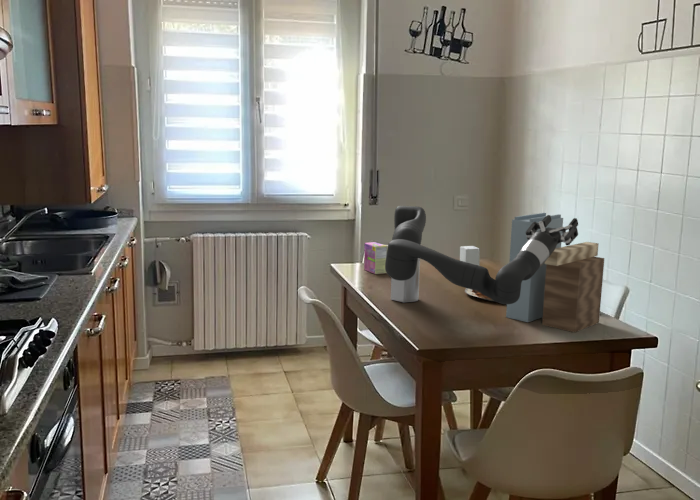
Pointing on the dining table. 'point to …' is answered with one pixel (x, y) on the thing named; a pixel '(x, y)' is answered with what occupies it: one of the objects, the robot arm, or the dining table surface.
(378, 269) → the box
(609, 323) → the dining table surface
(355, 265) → the dining table surface
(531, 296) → the pedestal
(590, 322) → the low stand
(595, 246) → the brown rectangular block
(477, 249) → the skincare box
